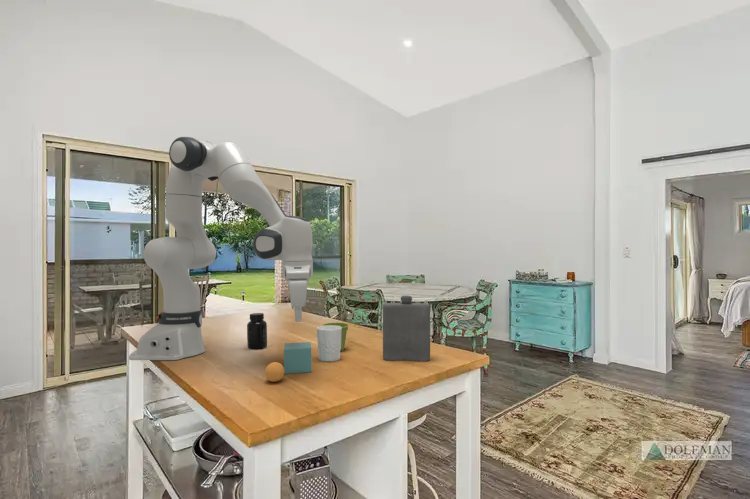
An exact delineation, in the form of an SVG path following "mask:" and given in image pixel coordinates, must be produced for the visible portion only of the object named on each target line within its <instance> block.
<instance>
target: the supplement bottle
mask: <svg viewBox="0 0 750 499" xmlns="http://www.w3.org/2000/svg"><path fill="white" fill-rule="evenodd" d="M264 319H265V313H264V312H254V313H249V320H250V321H248V323H247V325H246V334H247V335H246V336H247V337H246V340H247V341H246V342H247V345H246V346H247V348H248V349H249V350H253V351H254V350H263V349H265V348H267V347H268V324H267V322H266V320H264Z"/></svg>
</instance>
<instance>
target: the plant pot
mask: <svg viewBox="0 0 750 499" xmlns="http://www.w3.org/2000/svg"><path fill="white" fill-rule="evenodd" d="M326 325H336V326H341V327H342V335H341V350H340V352H341V351H342V352H343V351H345V347H346V339H347V334H348V328H349V326H350V324H349V323H347V322H346V323H345V322H328V323H323V324H322V325H321V326H326Z"/></svg>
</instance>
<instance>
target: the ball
mask: <svg viewBox="0 0 750 499" xmlns="http://www.w3.org/2000/svg"><path fill="white" fill-rule="evenodd" d="M264 375H265V377H266V379H267V380H268V381H270V382H272V383H276V382H279V381H281V380H282V379H283V377H284V375H285V374H284V365H283V364H281V363H280V362H278V361H273V362H270V363H269V364H267V366H266V367H265V369H264Z"/></svg>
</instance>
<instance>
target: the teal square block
mask: <svg viewBox="0 0 750 499" xmlns="http://www.w3.org/2000/svg"><path fill="white" fill-rule="evenodd" d="M311 344H312V343H311V341H305V342H303V341H302V342H301V341H300V342H287V343H286V342H284V345H283V347H284V348H283V367H284V375H286V374H301V373H302V374H303V373H312V345H311Z"/></svg>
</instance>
